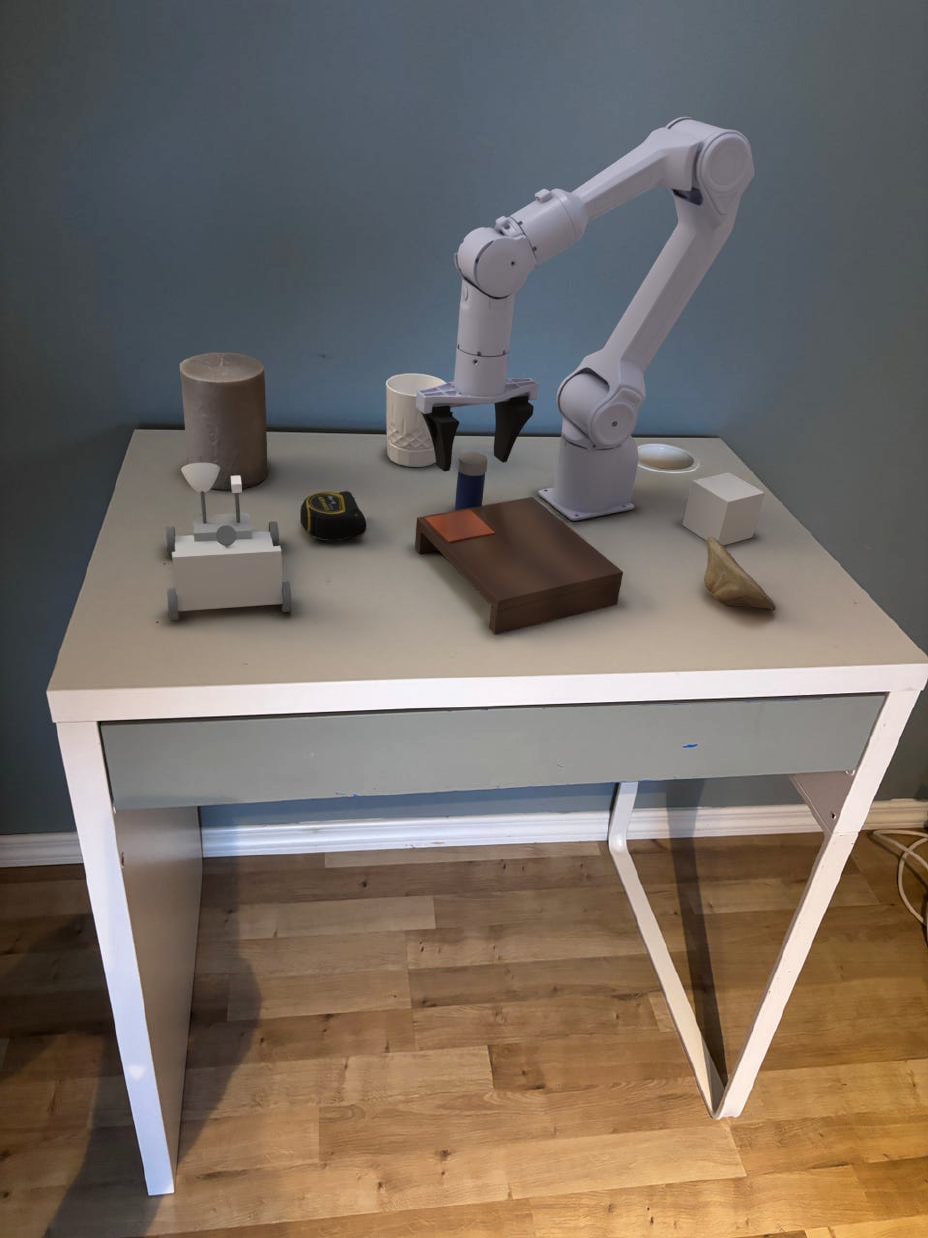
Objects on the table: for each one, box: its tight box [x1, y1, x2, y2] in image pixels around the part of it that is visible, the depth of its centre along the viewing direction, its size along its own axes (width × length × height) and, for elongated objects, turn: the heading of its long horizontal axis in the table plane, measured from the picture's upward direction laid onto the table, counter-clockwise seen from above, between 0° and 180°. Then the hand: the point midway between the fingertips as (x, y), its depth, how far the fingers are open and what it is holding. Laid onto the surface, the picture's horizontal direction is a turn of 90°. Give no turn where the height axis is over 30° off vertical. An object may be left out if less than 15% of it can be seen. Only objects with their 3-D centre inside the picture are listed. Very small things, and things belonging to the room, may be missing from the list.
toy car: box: [165, 456, 293, 621], centre depth 100 cm, size 18×10×12 cm
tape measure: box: [299, 490, 367, 541], centre depth 111 cm, size 7×7×4 cm
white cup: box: [385, 373, 447, 468], centre depth 127 cm, size 8×8×10 cm
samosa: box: [703, 536, 777, 611], centre depth 105 cm, size 9×4×10 cm
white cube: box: [682, 471, 765, 546], centre depth 118 cm, size 6×6×6 cm
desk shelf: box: [414, 496, 624, 635], centre depth 106 cm, size 15×18×4 cm
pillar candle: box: [179, 352, 269, 491], centre depth 118 cm, size 10×10×15 cm
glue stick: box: [454, 451, 488, 511], centre depth 116 cm, size 3×3×8 cm
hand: (472, 463), depth 114 cm, fingers open, 7 cm apart
